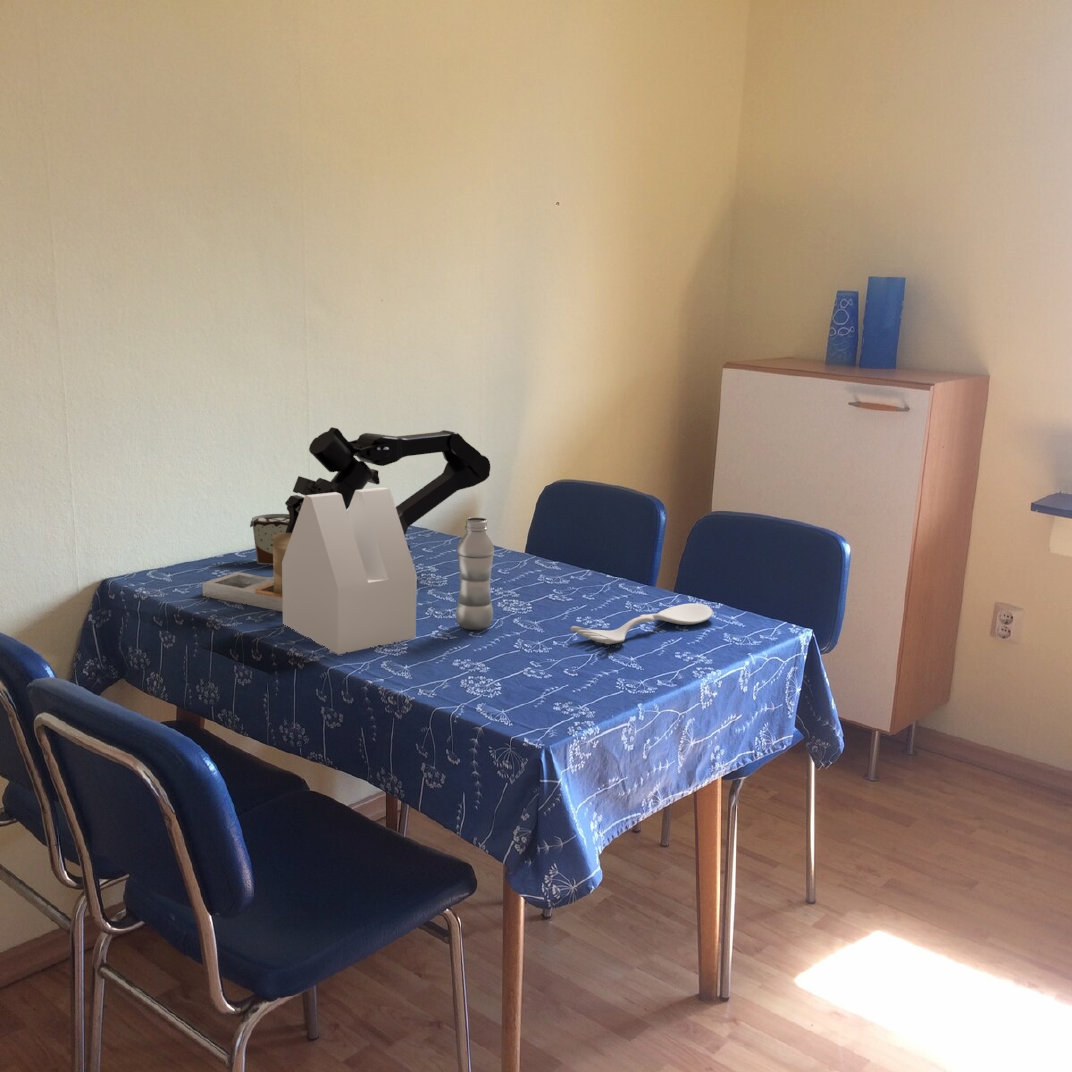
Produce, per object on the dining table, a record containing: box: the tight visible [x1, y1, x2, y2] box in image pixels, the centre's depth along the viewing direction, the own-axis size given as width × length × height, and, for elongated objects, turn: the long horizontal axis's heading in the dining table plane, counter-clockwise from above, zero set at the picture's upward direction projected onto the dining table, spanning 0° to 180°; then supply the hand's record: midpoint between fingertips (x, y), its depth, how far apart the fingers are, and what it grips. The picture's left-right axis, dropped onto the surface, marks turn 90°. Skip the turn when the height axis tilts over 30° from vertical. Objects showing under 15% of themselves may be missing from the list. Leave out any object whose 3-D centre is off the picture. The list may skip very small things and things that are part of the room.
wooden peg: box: [272, 533, 292, 594], centre depth 209 cm, size 5×5×13 cm
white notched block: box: [282, 486, 418, 655], centre depth 192 cm, size 19×15×25 cm
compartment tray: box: [202, 571, 283, 613], centre depth 212 cm, size 21×10×3 cm, turn 65°
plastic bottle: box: [455, 516, 495, 631], centre depth 197 cm, size 6×7×20 cm
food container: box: [249, 513, 290, 566], centre depth 238 cm, size 12×6×10 cm, turn 84°
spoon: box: [570, 602, 714, 645], centre depth 201 cm, size 9×32×4 cm, turn 133°
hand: (295, 551), depth 209 cm, fingers open, 9 cm apart
